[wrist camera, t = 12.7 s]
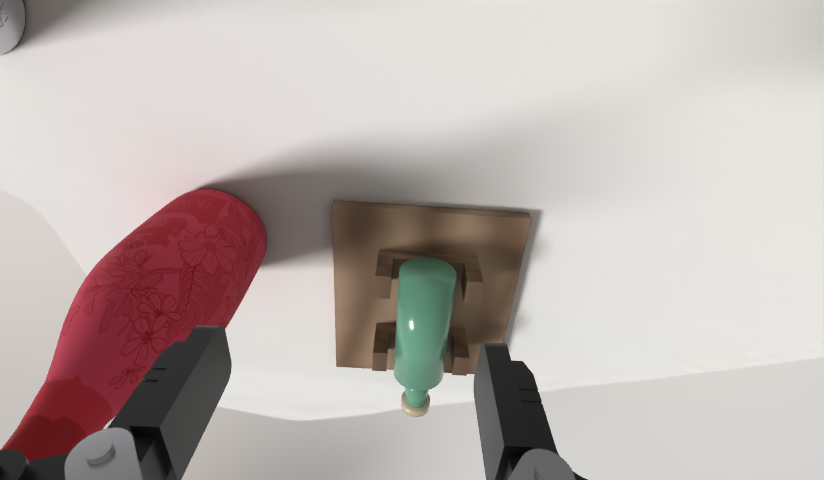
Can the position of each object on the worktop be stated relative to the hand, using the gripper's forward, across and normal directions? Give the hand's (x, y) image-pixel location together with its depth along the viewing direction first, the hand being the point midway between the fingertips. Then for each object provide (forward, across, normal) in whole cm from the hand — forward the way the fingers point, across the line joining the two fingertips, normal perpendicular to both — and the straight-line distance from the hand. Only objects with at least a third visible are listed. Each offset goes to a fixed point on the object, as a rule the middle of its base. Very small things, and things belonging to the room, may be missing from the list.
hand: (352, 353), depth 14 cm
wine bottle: (+26, +16, +11) cm, 33 cm away
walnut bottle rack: (+26, -4, +17) cm, 31 cm away
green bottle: (+24, -4, +19) cm, 31 cm away
